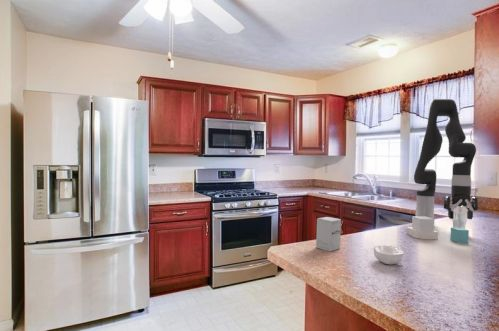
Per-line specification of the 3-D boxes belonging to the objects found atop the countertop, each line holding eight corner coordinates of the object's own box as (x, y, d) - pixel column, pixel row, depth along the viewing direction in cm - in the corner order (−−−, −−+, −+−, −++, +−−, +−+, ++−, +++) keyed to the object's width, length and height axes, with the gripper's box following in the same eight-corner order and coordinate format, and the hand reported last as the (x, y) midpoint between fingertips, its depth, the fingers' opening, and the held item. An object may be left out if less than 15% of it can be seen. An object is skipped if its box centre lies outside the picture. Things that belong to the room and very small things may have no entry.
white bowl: (404, 260, 111) (404, 242, 111) (402, 270, 101) (403, 251, 101) (375, 255, 116) (375, 238, 116) (370, 264, 106) (371, 246, 106)
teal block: (450, 239, 143) (450, 227, 143) (460, 240, 143) (461, 227, 143) (457, 242, 138) (457, 230, 138) (468, 243, 138) (468, 230, 138)
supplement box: (330, 252, 120) (331, 221, 120) (315, 247, 126) (316, 218, 125) (340, 248, 125) (341, 219, 124) (326, 244, 130) (326, 216, 130)
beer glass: (448, 232, 157) (448, 204, 157) (456, 231, 160) (456, 204, 160) (462, 236, 151) (463, 206, 150) (470, 234, 154) (471, 206, 153)
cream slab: (406, 234, 154) (407, 226, 154) (426, 235, 154) (426, 227, 154) (417, 239, 144) (417, 231, 144) (438, 240, 144) (438, 232, 144)
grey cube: (412, 227, 152) (412, 216, 152) (425, 228, 152) (426, 216, 152) (419, 231, 145) (419, 218, 145) (434, 231, 145) (434, 219, 145)
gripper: (470, 184, 144) (469, 217, 144) (440, 183, 144) (440, 217, 144) (482, 185, 136) (481, 220, 136) (451, 184, 136) (450, 220, 136)
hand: (460, 218), depth 140 cm, fingers open, 8 cm apart
